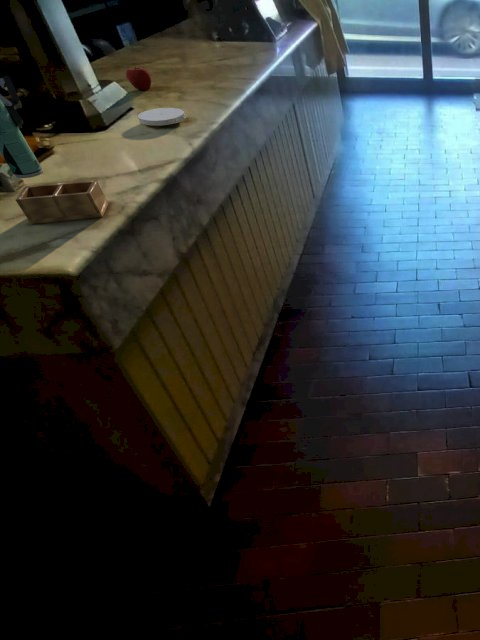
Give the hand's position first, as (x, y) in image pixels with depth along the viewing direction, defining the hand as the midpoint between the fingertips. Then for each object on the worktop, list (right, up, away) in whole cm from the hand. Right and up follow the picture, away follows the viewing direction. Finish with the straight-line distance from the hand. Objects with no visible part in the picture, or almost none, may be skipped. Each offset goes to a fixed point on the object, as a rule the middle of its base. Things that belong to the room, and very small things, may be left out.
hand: (3, 128), depth 111 cm
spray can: (-2, -7, +8) cm, 11 cm away
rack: (+1, -13, +15) cm, 20 cm away
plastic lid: (-9, +34, +64) cm, 74 cm away
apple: (-34, +61, +90) cm, 114 cm away
